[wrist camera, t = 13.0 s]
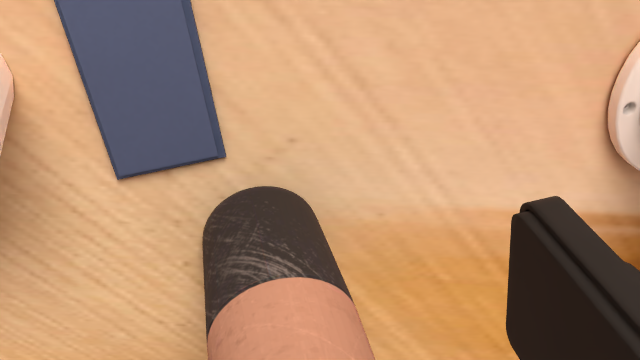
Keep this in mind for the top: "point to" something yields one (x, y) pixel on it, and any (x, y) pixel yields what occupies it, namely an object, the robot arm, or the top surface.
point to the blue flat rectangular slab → (144, 82)
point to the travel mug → (275, 283)
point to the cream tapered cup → (5, 98)
